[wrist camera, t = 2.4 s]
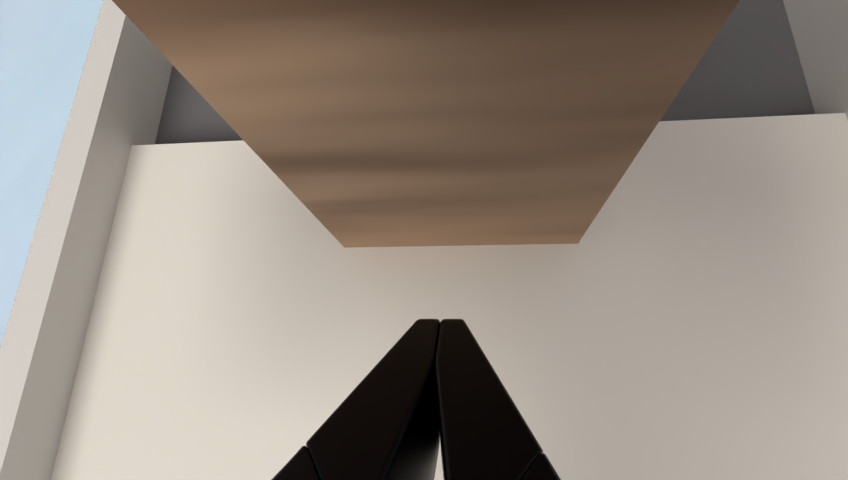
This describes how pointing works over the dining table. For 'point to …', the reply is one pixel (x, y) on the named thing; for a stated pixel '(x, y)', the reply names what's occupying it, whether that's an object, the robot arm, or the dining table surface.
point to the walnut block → (439, 104)
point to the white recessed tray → (444, 286)
